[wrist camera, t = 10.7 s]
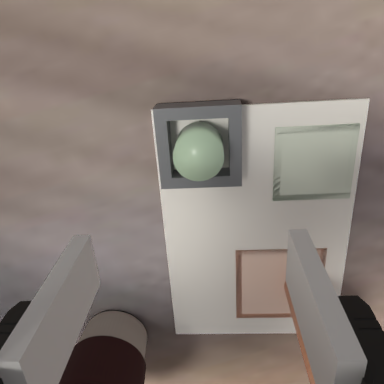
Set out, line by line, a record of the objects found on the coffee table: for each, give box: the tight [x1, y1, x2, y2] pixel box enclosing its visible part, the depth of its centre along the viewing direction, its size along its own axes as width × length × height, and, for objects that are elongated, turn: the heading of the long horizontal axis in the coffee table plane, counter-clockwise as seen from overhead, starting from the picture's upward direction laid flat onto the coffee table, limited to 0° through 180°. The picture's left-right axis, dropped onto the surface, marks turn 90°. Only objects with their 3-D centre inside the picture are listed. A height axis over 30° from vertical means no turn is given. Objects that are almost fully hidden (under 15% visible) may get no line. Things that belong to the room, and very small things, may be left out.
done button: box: [173, 122, 224, 181], centre depth 29 cm, size 4×4×3 cm
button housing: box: [153, 99, 242, 189], centre depth 30 cm, size 7×7×2 cm
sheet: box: [151, 98, 370, 334], centre depth 35 cm, size 18×26×1 cm
